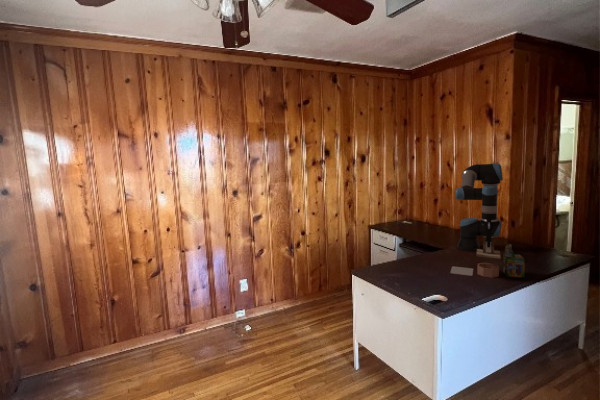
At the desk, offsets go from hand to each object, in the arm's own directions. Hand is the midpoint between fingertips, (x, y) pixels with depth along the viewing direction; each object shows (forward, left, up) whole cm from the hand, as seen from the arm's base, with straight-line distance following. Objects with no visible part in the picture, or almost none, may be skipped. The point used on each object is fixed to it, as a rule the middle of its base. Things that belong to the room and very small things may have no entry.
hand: (488, 251), depth 189 cm
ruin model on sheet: (-43, +12, -15) cm, 47 cm away
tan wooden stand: (0, 0, -2) cm, 2 cm away
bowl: (0, 0, -15) cm, 15 cm away
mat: (0, -14, -15) cm, 20 cm away
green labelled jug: (-5, +13, -15) cm, 20 cm away
